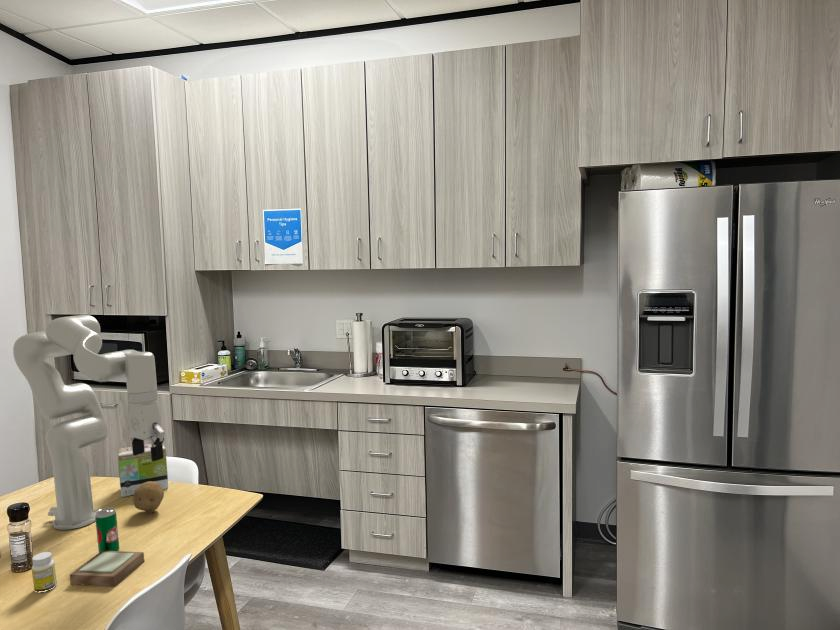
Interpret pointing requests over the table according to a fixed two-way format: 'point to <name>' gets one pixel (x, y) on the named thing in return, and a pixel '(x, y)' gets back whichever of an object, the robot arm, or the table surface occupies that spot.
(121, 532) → the table surface
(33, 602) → the table surface
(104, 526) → the soda can
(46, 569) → the supplement bottle
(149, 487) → the natural sponge
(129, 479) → the tea box
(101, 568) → the walnut picture frame
